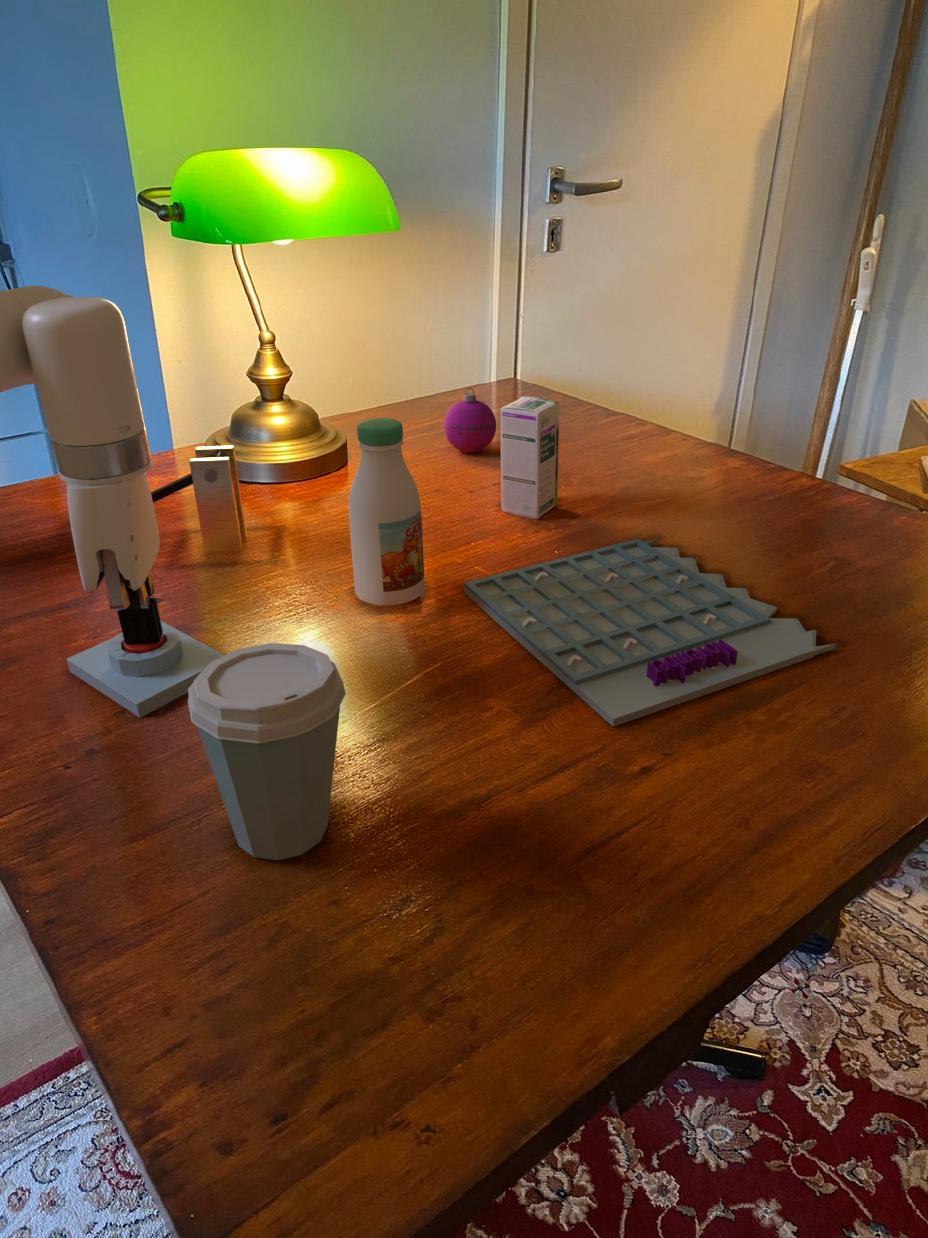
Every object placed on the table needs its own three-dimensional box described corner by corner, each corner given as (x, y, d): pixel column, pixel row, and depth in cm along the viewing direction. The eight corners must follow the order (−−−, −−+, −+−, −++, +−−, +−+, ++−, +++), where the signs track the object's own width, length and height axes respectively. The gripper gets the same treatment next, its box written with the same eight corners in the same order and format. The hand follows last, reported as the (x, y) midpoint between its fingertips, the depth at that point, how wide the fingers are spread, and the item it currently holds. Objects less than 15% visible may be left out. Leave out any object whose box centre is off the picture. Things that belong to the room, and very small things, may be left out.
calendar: (659, 543, 113) (661, 525, 112) (838, 649, 91) (842, 627, 89) (463, 593, 102) (463, 574, 101) (611, 727, 80) (613, 704, 79)
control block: (71, 677, 88) (61, 642, 86) (160, 636, 95) (153, 602, 93) (141, 724, 81) (132, 687, 79) (232, 676, 88) (226, 640, 86)
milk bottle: (357, 618, 97) (342, 438, 87) (353, 585, 104) (339, 414, 94) (429, 611, 98) (422, 432, 88) (420, 579, 105) (413, 409, 95)
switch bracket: (170, 573, 107) (150, 470, 101) (185, 538, 116) (167, 441, 110) (272, 568, 108) (259, 465, 102) (280, 533, 117) (268, 437, 110)
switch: (136, 522, 106) (124, 505, 105) (146, 505, 111) (134, 489, 110) (227, 479, 105) (216, 461, 104) (232, 464, 109) (222, 446, 108)
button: (119, 656, 86) (115, 640, 86) (152, 641, 89) (149, 625, 88) (140, 669, 84) (137, 653, 84) (173, 653, 87) (170, 637, 86)
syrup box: (538, 520, 119) (541, 412, 112) (499, 511, 122) (499, 405, 115) (557, 505, 123) (561, 400, 116) (519, 497, 126) (521, 394, 119)
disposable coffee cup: (193, 824, 70) (158, 659, 62) (318, 771, 75) (300, 613, 68) (249, 910, 62) (216, 735, 55) (384, 845, 68) (371, 677, 60)
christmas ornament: (444, 460, 139) (442, 395, 135) (444, 442, 147) (443, 381, 142) (497, 459, 139) (497, 395, 135) (495, 442, 147) (495, 380, 142)
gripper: (81, 427, 83) (122, 604, 92) (28, 488, 70) (82, 686, 79) (165, 424, 83) (198, 600, 92) (127, 483, 70) (169, 680, 79)
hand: (144, 639), depth 86 cm, fingers closed
